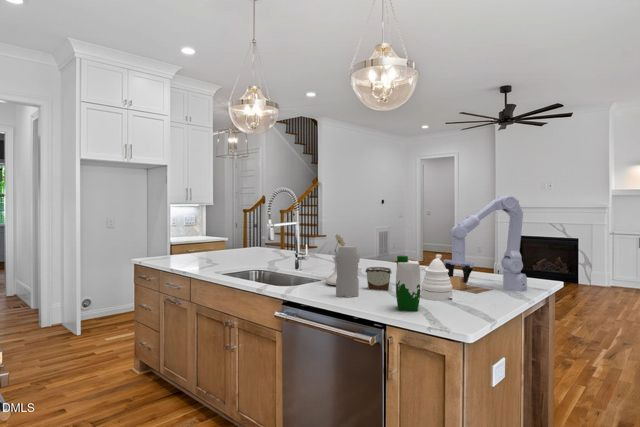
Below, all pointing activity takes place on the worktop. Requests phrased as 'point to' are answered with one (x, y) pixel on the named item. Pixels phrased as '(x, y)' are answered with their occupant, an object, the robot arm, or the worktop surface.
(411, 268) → the milk carton
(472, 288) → the board
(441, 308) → the worktop surface
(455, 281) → the tan shipping carton
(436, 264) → the honey pot
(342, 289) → the tall pale column
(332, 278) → the flower in vase
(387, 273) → the food container
